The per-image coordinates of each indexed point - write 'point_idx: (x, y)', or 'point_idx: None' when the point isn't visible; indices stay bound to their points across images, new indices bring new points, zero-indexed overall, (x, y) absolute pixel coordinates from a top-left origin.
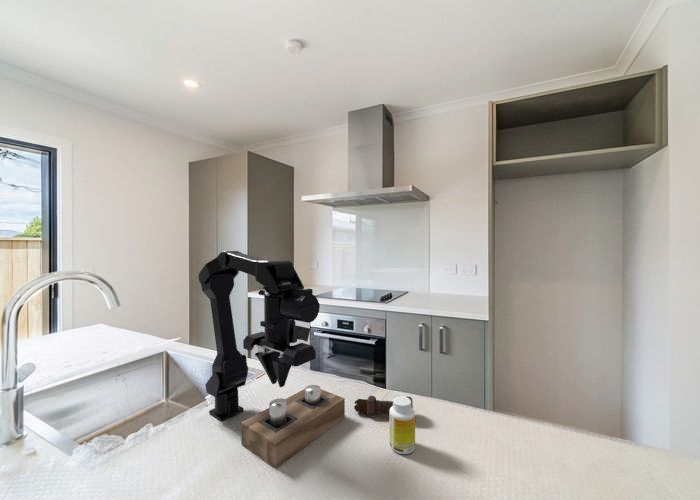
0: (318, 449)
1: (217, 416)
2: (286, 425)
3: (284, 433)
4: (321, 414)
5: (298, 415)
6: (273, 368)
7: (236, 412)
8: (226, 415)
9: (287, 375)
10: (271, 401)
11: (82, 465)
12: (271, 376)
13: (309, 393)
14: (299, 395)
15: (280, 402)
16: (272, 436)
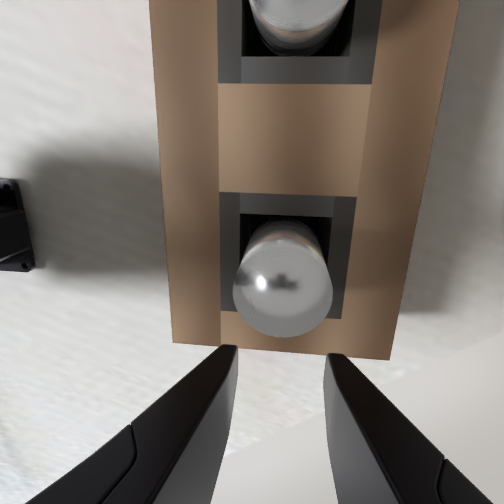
0: (438, 176)
1: (4, 268)
2: (343, 264)
3: (375, 305)
4: (440, 85)
5: (337, 176)
6: (194, 500)
7: (24, 220)
8: (21, 252)
9: (408, 426)
10: (239, 305)
11: (8, 490)
12: (223, 451)
13: (317, 22)
14: (186, 7)
15: (291, 285)
16: (345, 338)
